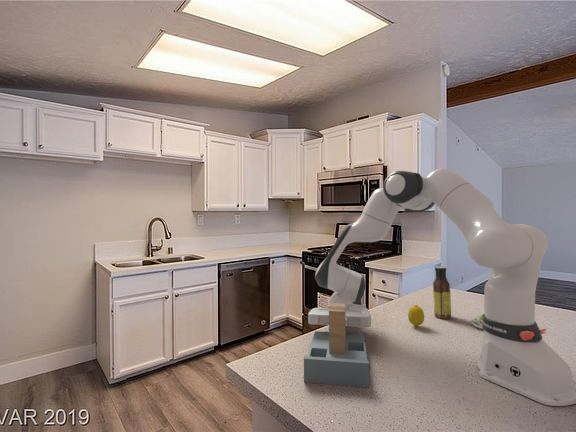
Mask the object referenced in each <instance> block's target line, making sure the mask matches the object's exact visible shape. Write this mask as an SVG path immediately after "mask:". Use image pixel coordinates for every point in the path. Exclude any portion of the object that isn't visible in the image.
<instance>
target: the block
mask: <svg viewBox="0 0 576 432" xmlns="http://www.w3.org/2000/svg"><path fill="white" fill-rule="evenodd" d="M346 328H347V326H346V312H345V303H330V307H329V325H328V332H329V353H338V354H345V350H346V333H347V329H346Z"/></svg>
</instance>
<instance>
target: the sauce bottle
mask: <svg viewBox="0 0 576 432" xmlns="http://www.w3.org/2000/svg"><path fill="white" fill-rule="evenodd" d="M434 271H435V279H434V281H433V283H432V287H433V288H432V289H433V290H432V294H433V295H432V297H433V314H434V316H435V317H436V318H438V319H442V320H448V319H451V317H452V303H451V302H452V301H451V300H452V299H451V284H450V282H449V281H448V279H447V267H446V266H435V267H434Z"/></svg>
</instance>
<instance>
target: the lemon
mask: <svg viewBox="0 0 576 432" xmlns="http://www.w3.org/2000/svg"><path fill="white" fill-rule="evenodd" d="M407 317H408V321H409V323H410V324H412V326H414V327H416V328H417V327H419V326H421V325H422V324H423V323H424V322H425V313H424V310H423V308H422V307H420V306H419V305H417V304H416V305H413V306H411V307H410V308H409V310H408V312H407Z"/></svg>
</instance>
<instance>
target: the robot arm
mask: <svg viewBox="0 0 576 432" xmlns="http://www.w3.org/2000/svg"><path fill="white" fill-rule="evenodd" d="M434 206H436V207H438V209H440V210H441V212H442V213H444V215H445V216H446V217H447V218H449V220H451V222H453V223H454V224H455V225H456V226H457V228H458V229H459V230H460V232H461V233H462V234H463V237H464V238H465V240H466V242H467V250H468V254H469V256H470V258H471V259H472V261H474V263H476V264H477V265H479V266H481V267H484V268H489V269H491V272H490V276H489V278H488V280H487V281H486V283H485V285H484V287H483V288H484V289H483V290H484V292H483V293H484V294H483V295H484V297H483V298H484V299H483V300H484V301H483V302H484V305H483V307H484V309H483V310H484V313H483V314H482V315H483V319H482V323H481V324H482V326H481V327H482V328H483V329H484V331H483V336H482V337H483V338H482V344H481V345H482V346H481V351H480V354H479V357H478V361H477V362H476V363H477V365H476V366H477V368H478V369H479V376H480V378H482V379H485V380H487V381H489V382H492V383H493V384H496V385H498V386H501V387H503V388H506V389H507V390H510V391H513V392H515V393H517V394H519V395H522V396H524V397H526V398H529V399H531V400H533V401H536V402H537V403H540V404H543V405H546V406H553V407H564V406H571V405H575V404H576V383H575V382H574V376H573V372H572V370H571V367H570V365H569V364H568V362H566V361H565V359H563V358H562V357H561V356H560V355H559V354H558V353H557V352H556V351H554V349H553V348H552V347H551V346H549V344H548V343H547V342H546V341H544V339H543V336H542V335H544V334H547V332H546V331H547V328H541V329H540V328H539V325H538V323H537V322H536V321H535V320H536V318H535V317H536V313H535V312H536V292H537V290H536V289H537V284H538V280H539V276H540V272H541V267H542V262H543V258H544V256H545V254H546V252H547V250H548V248H549V242H548V238H547V236H546V235H545V233H544V232H543V231H542V230H540V229H539V228H537V227H535V226H532V225H529V224H525V223H514V224H513V223H511V224H510V223H509V222H507V221H505V220H504V219H503V218H502V217H501V216H500V215H499V213H498V212H497V211H496V209H495V208H494V203H493V201H492V200H491V199H490V198H488V196H486V195H485V194H484V193H483V192H481V191H480V190H478V188H476V187H475V186H474V185H473V184H472V183H470V182H469V181H468V180H467V179H465V178H464V177H462V176H461V175H460V174H458V173H456V172H454V171H452V170H451V169H448V168H445V167H440V168H437V169H435V170H432V171H431V172H430V173H429V174H428V175H426V176H422V174H420V173H418V172H414V171H412V172H411V171H406V170H396V171H393V172H391V173H390V174H389V175H388V176H387V177H386V178H385V180H384V181H383V186H382V187H380V188H377V189H375V190H374V191H373V192H372V193H371V196H370V197H369V198H368V200H367V202H366V203H365V206H364V208H363V210H362V212H361V215H360V217H358V219H357V220H356V221H355V222H353V223H348V224H347V225H346V226H345V228H344V229H343V230H342V231H341V233H340V234H339V236H338V238H337V239H336V241H335V242H334V244H333V245H332V247H331V249H330V250H329V251H328V254H327V256H326V257H325V258H324V260H323V261H322V262H320V264H319V266H318V267H317V268H316V271H315V274H314V279H315V281H316V283H317V286H318V287H321V288H323V289H327V290H331V291H333V293H332V294H331V296H330V298H329V301H328V306H327V307H314V308H312V309H310V310H309V311H308V314H307V322H308V324H309V325H312V326H313V325H315V326H316V325H317V326H318V325H319V326H329V307H330V303H345V312H346V327H351V328H352V327H355V328H370V327H371V328H372V314H371V311H370V310H369V309H368V308H367V307H366V303H362V302H361V300H362V298H363V296H364V293H365V290H366V281H365V277H364V275H363V274H362V273H359V272H357V271H354V270H352V269H349V268H347V267H345V266H342V265H340V264H338V263H337V261H338V259H339V257H340V256H341V255H342V253H343V251H344V250H345V248H346V247H347V246H348V245H350V244H352V243H375V242H379V241H381V240H384V238H385V237H386V236H387V234H388V233H389V231H390V229H391V228H392V224H393V223H394V220H395V217H396V216H397V213H399V212H400V211H402V210H404V211H406V212H415V213H416V212H426V211H428V210H430V209H432V208H433V207H434Z"/></svg>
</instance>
